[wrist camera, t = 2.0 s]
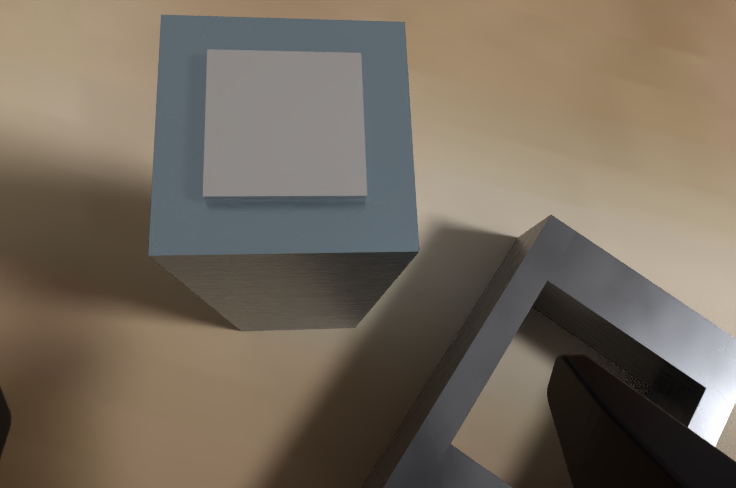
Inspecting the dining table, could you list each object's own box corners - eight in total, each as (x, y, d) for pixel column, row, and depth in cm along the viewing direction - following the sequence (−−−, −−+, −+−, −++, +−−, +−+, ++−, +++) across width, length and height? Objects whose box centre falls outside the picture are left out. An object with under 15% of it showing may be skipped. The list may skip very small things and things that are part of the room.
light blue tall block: (355, 327, 20) (422, 246, 8) (241, 331, 20) (142, 250, 8) (351, 220, 21) (408, 10, 9) (242, 221, 21) (156, 2, 9)
